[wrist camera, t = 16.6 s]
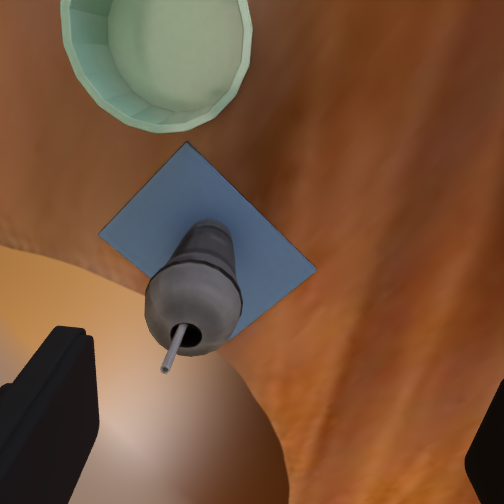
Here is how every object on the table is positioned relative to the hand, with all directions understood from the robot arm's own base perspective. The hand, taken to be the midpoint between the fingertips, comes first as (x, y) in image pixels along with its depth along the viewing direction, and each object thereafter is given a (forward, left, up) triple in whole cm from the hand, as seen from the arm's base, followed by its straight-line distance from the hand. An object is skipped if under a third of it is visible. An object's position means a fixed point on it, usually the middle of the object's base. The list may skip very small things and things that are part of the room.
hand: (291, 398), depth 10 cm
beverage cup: (-3, +10, -31) cm, 32 cm away
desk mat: (-4, +11, -31) cm, 33 cm away
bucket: (+11, -1, -31) cm, 33 cm away
